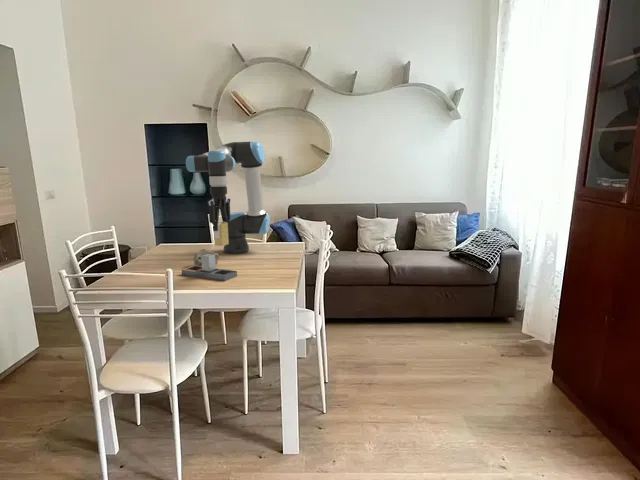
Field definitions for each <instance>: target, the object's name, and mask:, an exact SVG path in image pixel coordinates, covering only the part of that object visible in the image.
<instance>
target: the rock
mask: <svg viewBox="0 0 640 480" xmlns="http://www.w3.org/2000/svg"><path fill="white" fill-rule="evenodd" d="M205 254H214V255H215V264H216V265H217V264H218V263H219V257H220V255H219V253H215V252H213V251H212V250H206V249H205V248H201V249H199V250H198V251H197V252H196V253H195V254H194V256H193V266H194V265H197V266H202V262H201V256H202V255H205Z"/></svg>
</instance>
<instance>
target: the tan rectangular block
mask: <svg viewBox="0 0 640 480" xmlns="http://www.w3.org/2000/svg"><path fill="white" fill-rule="evenodd" d="M218 224H220V238H215V235H214V234H213V239H214V240H213V241H214V246H220V247H224V245H227V244H229V241H228V223H223V221H221V222H220V221H218Z"/></svg>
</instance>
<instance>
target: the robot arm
mask: <svg viewBox="0 0 640 480" xmlns="http://www.w3.org/2000/svg"><path fill="white" fill-rule="evenodd" d="M265 156H266V155H265V150H264V147H263V145H262V143H261V142H258V141H232V142H228V143H227V142H226V143H224V144H221V145H218V146H217V147H216V148H215V149H212V150H208V152H204V153H202V154H199V155H188V156H187V157H186V159H185V166H186V167H185V168H186V169H187V171H188V172H190V173H191V172H192V173H202V172H203V173H205V172H206V173H208V176H209V178H208V179H209V185H210V187H209V194H210V195H211V199H210V200H207V202H206V203H207V205H208V206H207V207H208V219H209V223H210V224H212V225H213V236H214V235H215V238H220V224H218V223H219V218H220V217H221V220H222V221H221V222H223V223H228V241H229V244H227V245H224V246H223V253H226V254H243V253H248V252H249V251H250V246H249V243H248V240H247V238H246V237H247V235H259V236H260V235H265V234H268V232H269V230H270V225H271V216H270V215H269V214H267V211H266V209H264V203H263V200H264V199H263V192H262V191H263V189H262V181H261V180H262V179H261V171H260V169H261V168H262V167H263V164H264V163H265V160H266V159H265ZM236 164H240V167H241V168H242V170H244V171H243V172H244V180H245V186H246V187H245V188H246V196H247V199H246V200H247V206H248V210H247V211H246V212H244V211H239V212H232V213H231V198H227V196H226V195H227V194H228V187H227V186H226V185H227V184H228V183H227V182H228V181H227V173H229V172H231V171H233V170H234V169H235V167H236Z"/></svg>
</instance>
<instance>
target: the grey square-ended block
mask: <svg viewBox="0 0 640 480" xmlns="http://www.w3.org/2000/svg"><path fill="white" fill-rule="evenodd" d="M201 262H202V272H207V273H211V272H213V271H216V266H217V264H215V255H214V254H205V255H202V256H201Z"/></svg>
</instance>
